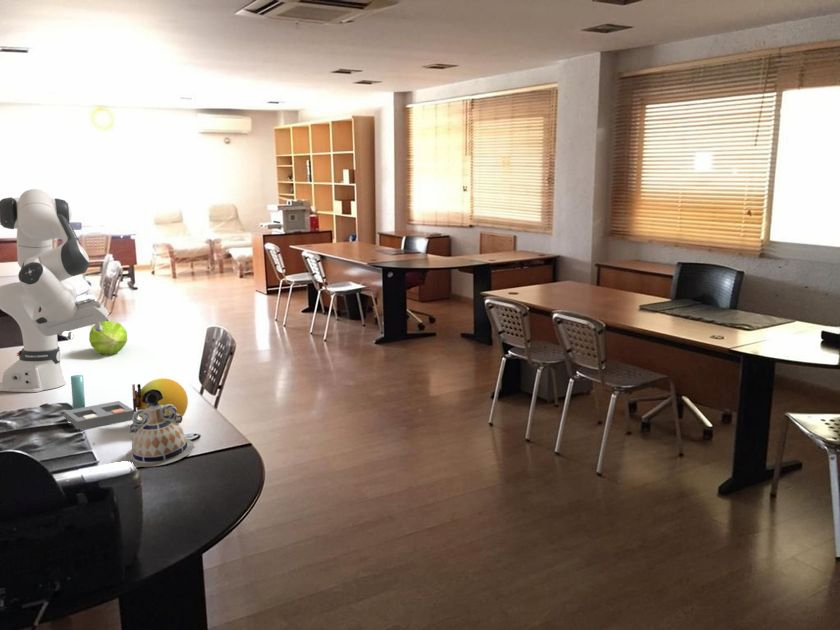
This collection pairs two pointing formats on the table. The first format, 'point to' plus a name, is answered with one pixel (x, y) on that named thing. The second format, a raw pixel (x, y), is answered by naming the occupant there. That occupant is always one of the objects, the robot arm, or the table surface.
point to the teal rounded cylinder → (77, 391)
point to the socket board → (99, 415)
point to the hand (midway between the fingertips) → (85, 333)
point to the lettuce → (108, 338)
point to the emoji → (169, 391)
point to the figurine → (157, 434)
